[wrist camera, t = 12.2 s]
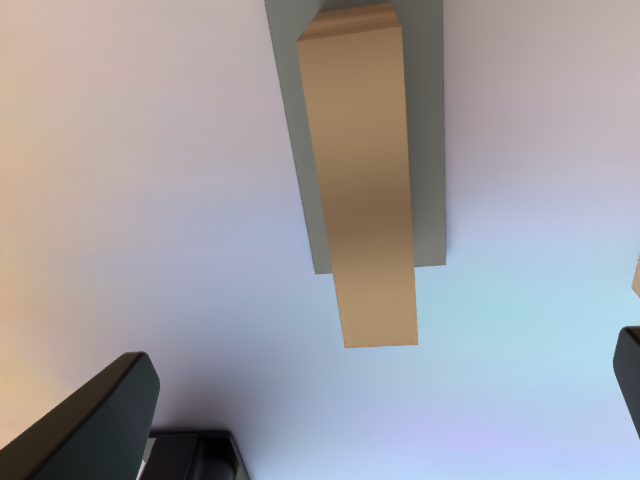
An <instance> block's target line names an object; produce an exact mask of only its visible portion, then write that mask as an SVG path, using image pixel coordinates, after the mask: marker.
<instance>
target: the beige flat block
mask: <svg viewBox="0 0 640 480" xmlns="http://www.w3.org/2000/svg"><path fill="white" fill-rule="evenodd" d="M632 289H633V290H634V292H635V293H636V294H637V295H638V297H639V298H640V255H639V260H638V264H637V268H636V272H635V276H634V280H633V284H632Z"/></svg>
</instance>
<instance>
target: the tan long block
mask: <svg viewBox="0 0 640 480" xmlns="http://www.w3.org/2000/svg"><path fill="white" fill-rule="evenodd" d="M296 46H297V52H298V59H299V65H300V71H301V77H302V84H303V90H304V96H305V102H306V109H307V115H308V121H309V127H310V134H311V140H312V146H313V152H314V159H315V165H316V171H317V177H318V184H319V190H320V196H321V202H322V209H323V215H324V221H325V227H326V233H327V240H328V246H329V252H330V258H331V265H332V271H333V277H334V283H335V290H336V296H337V302H338V308H339V315H340V321H341V327H342V333H343V340H344V346H345V348H355V347H377V346H398V345H418V333H417V314H416V295H415V276H414V256H413V237H412V218H411V199H410V180H409V160H408V141H407V122H406V103H405V83H404V64H403V45H402V27H401V24H400V22H399V20H398V18H397V16H396V13H395V11H394V9H393V7H392V5H391V2H386V3H379V4H372V5H366V6H359V7H353V8H346V9H340V10H333V11H326V12H320V13H317V14H316V16H315V17H314V18H313V20H312V21H311V22H310V24H309V25H308V26H307V28H306V29H305V30H304V32H303V33H302V34H301V36H300V37H299V38H298V40H297V41H296Z"/></svg>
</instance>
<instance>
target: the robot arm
mask: <svg viewBox="0 0 640 480" xmlns="http://www.w3.org/2000/svg"><path fill="white" fill-rule="evenodd" d="M613 368H614V372H615V375H616V378H617V381H618V383H619V386H620V389H621V391H622V394H623V397H624V399H625V402H626V405H627V407H628V410H629V412H630V415H631V418H632V420H633V423H634V426H635V428H636V431H637V434H638V436H639V439H640V326H626V327H623V328H622V329H621V330H620V333H619V336H618V341H617V345H616V349H615V353H614V358H613ZM159 391H160V381H159V377H158V375H157V373H156V371H155V369H154V366H153V364H152V362H151V360H150V358H149V356H148V354H147V353H145V352H142V351H140V352H127V353H124V354H123V355H121V356H120V357H119V358H117V359H116V360H115V361H114V362H112V363H111V364H110V365H108V366H107V367H106V368H105V369H103V370H102V371H101V372H100V373H98V374H97V375H96V376H94V377H93V378H92V379H91V380H89V381H88V382H87V383H85V384H84V385H83V386H82V387H80V388H79V389H78V390H77V391H75V392H74V393H73V394H71V395H70V396H69V397H68V398H66V399H65V400H64V401H62V402H61V403H60V404H59V405H57V406H56V407H55V408H54V409H52V410H51V411H50V412H48V413H47V414H46V415H45V416H43V417H42V418H41V419H40V420H38V421H37V422H36V423H34V424H33V425H32V426H31V427H29V428H28V429H27V430H25V431H24V432H23V433H22V434H20V435H19V436H18V437H17V438H15V439H14V440H13V441H11V442H10V443H9V444H8V445H6V446H5V447H4V448H2V449H1V450H0V480H136V478H137V475H138V472H139V469H140V466H141V463H142V460H144V462H145V465H144V468H143V470H142V472H141V475H140V477H139V479H138V480H249V478H248V476H247V473H246V471H245V468H244V465H243V463H242V460H241V457H240V455H239V452H238V449H237V447H236V444H235V441H234V439H233V436H232V435H231V434H230V433H229V432H226V431H203V432H161V433H149V432H150V428H151V424H152V420H153V416H154V412H155V408H156V404H157V400H158V395H159Z"/></svg>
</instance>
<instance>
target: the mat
mask: <svg viewBox="0 0 640 480" xmlns="http://www.w3.org/2000/svg"><path fill="white" fill-rule="evenodd" d="M264 1H265V7H266V12H267V17H268V23H269V28H270V34H271V39H272V44H273V50H274V55H275V60H276V66H277V71H278V76H279V82H280V87H281V93H282V98H283V103H284V109H285V114H286V119H287V125H288V130H289V135H290V141H291V146H292V152H293V157H294V162H295V168H296V173H297V178H298V184H299V189H300V194H301V200H302V205H303V211H304V216H305V221H306V227H307V232H308V237H309V243H310V248H311V253H312V259H313V264H314V270H315V274H327V273H333V271H332V265H331V258H330V252H329V246H328V240H327V233H326V227H325V221H324V215H323V209H322V202H321V196H320V190H319V184H318V177H317V171H316V165H315V159H314V152H313V146H312V140H311V134H310V127H309V121H308V115H307V109H306V102H305V96H304V90H303V84H302V77H301V71H300V65H299V59H298V52H297V46H296V41H297V40H298V38H299V37H300V36H301V34H302V33H303V32H304V30H305V29H306V28H307V26H308V25H309V24H310V22H311V21H312V20H313V18H314V17H315V16H316V14H317V13H320V12H326V11H333V10H340V9H346V8H353V7H359V6H366V5H372V4H379V3H386V2H391V5H392V7H393V9H394V11H395V13H396V16H397V18H398V20H399V22H400V24H401V27H402V45H403V64H404V83H405V103H406V122H407V141H408V160H409V180H410V199H411V218H412V237H413V256H414V267H423V266H437V265H446V231H445V153H444V76H443V0H264Z"/></svg>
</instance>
